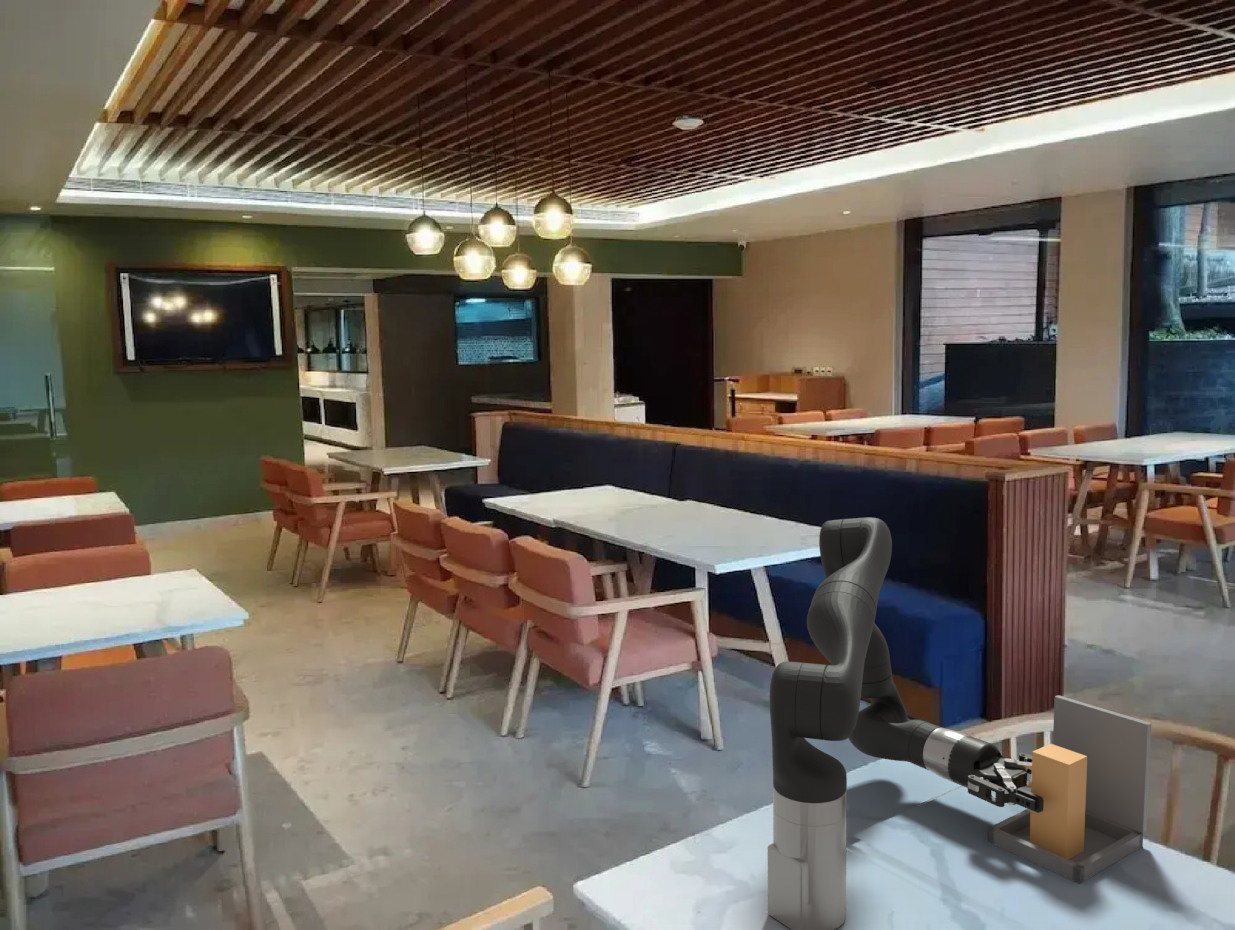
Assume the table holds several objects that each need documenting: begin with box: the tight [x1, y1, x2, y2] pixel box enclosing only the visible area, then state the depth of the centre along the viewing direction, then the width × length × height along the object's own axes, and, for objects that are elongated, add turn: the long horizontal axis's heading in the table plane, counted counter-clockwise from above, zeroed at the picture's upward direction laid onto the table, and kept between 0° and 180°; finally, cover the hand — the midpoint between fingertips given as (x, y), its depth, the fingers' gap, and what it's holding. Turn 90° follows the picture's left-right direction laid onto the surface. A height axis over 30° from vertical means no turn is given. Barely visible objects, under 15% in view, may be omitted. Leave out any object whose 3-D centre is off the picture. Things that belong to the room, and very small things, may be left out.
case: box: [987, 694, 1153, 884], centre depth 141 cm, size 17×14×19 cm
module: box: [1030, 743, 1087, 860], centre depth 140 cm, size 4×6×14 cm
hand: (1059, 796), depth 140 cm, fingers open, 8 cm apart
